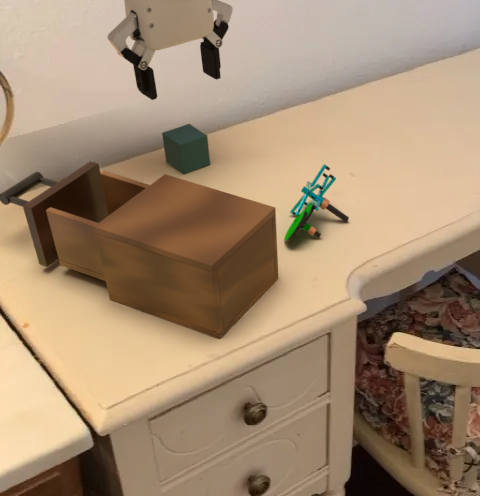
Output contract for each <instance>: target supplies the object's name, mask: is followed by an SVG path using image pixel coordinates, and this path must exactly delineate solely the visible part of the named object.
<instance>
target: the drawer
mask: <svg viewBox="0 0 480 496" xmlns="http://www.w3.org/2000/svg"><path fill="white" fill-rule="evenodd" d="M40 185H43V186H47V187H49V188H47V189H46V190H44V191H43V192H41V193H39V194H38V195H36V196H35V197H33V198H32V199H31V200H26V199H23V198H20V197H22V196H24V195H25V194H27V193H28V192H30V191H32V190H33V189H35V188H36V187H38V186H40ZM149 185H150V184H149V183H145V182H142V181H139V180H136V179H132V178H129V177H126V176H124V175H120V174H117V173H113V172H110V171H106V170H103V171H102V172H101V168H100V164H99V163H98V162H95V161H88V162H87V163H86V164H83V165H82V166H81V167H79V168H78V169H76V170H75V171H73V172H72V173H70V174H69V175H67V176H66V177H64V178H63V179H61V180H59V181H56V180H53V179H50V178H47V177H44V176H43V174H42V173H41V172H39V171H34V172H33V173H31V174H30V175H27V176H26V177H24V178H23V179H21V180H20V181H18V182H17V183H15V184H13V185H12V186H10V187H9V188H7V189H6V190H4V191H2V192H1V193H0V202H1V204H3V205H5V206H8V205H10V204H13V205H15V206H19V207H22V209H23V212H24V215H25V220H26V223H27V226H28V229H29V233H30V236H31V240H32V244H33V247H34V250H35V254H36V258H37V261H38V264H39V265H40V266H42V267H45V268H49V267H50V266H51V265H53V264H54V263H55V262H57V261H58V262H59V265H60V266H62V267H64V268H67V269H70V270H72V271H75V272H78V273H81V274H84V275H87V276H89V277H92V278H95V279H97V280H101V281H103V282H106V279H105V275H104V270H103V266H102V261H101V257H100V253H99V248H98V244H97V239H96V235H95V230H94V226H95V225H97V224H98V223H99V222H101V221H102V220H103V219H105V218H106V217H107V216H109V215H110V214H112V213H113V212H114V211H116V210H117V209H118V208H120V207H121V206H122V205H124V204H125V203H126V202H128V201H129V200H130V199H132V198H133V197H135V196H136V195H137V194H139V193H140V192H141V191H143V190H144V189H145V188H147V187H148V186H149Z"/></svg>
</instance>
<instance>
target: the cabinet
mask: <svg viewBox="0 0 480 496" xmlns="http://www.w3.org/2000/svg"><path fill="white" fill-rule="evenodd" d="M276 214H277V210H276V207H275V206H273V205H268V204H265V203H262V202H259V201H256V200H252V199H249V198H245V197H243V196H238V195H237V194H236V195H235V194H232V193H229V192H226V191H222V190H219V189H217V188H213V187H210V186H206V185H202V184H199V183H197V182H193V181H189V180H186V179H183V178H179V177H177V176H173V175H169V174H167V173H165V174H163V175H162V176H160V177H159V178H158V179H156V180H155V181H153V182H152V183H151V184H149V186H148V187H147V188H145V189H144V190H143V191H141V192H140V193H139V194H137V195H136V196H135V197H133V198H132V199H130V200H129V201H128V202H126V203H125V204H124V205H122V206H121V207H120V208H118V209H117V210H116V211H114V212H113V213H112V214H110V215H109V216H107V217H106V218H105V219H103V220H102V221H101V222H99V223H98V224H97V225H95V226H94V230H95V235H96V239H97V244H98V248H99V253H100V257H101V261H102V266H103V270H104V275H105V279H106V281H105V283H106V288H107V292H108V297H109V300H111V301H114V302H115V303H118V304H121V305H125V306H127V307H130V308H133V309H135V310H138V311H141V312H144V313H146V314H150V315H152V316H155V317H158V318H161V319H164V320H166V321H169V322H171V323H174V324H176V325H180V326H183V327H185V328H188V329H191V330H194V331H197V332H199V333H202V334H205V335H207V336H210V337H213V338H216V339H219V340H221V339H222V338H223V337H224V336H225V335H226V333H228V331H229V330H230V329H232V327H234V326H235V324H236V323H237V322H238V321H239V320H240V319H241V318H242V317H243V316H244V315H245V314H246V313H247V312H248V311H249V310H250V309H251V308H252V307H253V305H255V304H256V303H257V301H258V300H259V299H260V298H261V297H262V296H263V295H265V293H266V292H267V291H268V290H269V289H270V288H271V287H273V285H274V284H275V283H276V282H277V281H278V280H279V278H280V277H279V258H278V237H277V215H276Z"/></svg>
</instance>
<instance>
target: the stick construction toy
mask: <svg viewBox="0 0 480 496" xmlns="http://www.w3.org/2000/svg"><path fill="white" fill-rule="evenodd" d="M325 170H327V171H330V170H331V167H330V166H328V165H327V164H324V163H323V165H322V166H321V168H320V169H319V170H318V172H317V174H316V175H315V177H314V178H313V180H312V181H309V180H307V182H306V185H303V186H302V187H301V189H300V192H301V193H303V194H302V195H301V197H300V198H299V200H297V202H296V203H295V204H294V206H293V207H292V208H291V210H290V211H289V213H290V214H291V215H293V216H294V217H295V218H294V220H293V221H292V223H291V224H290V225H289V227H288V229H287V231H286V233H285V236H284V241H285V242H287V243H289V242H291V241H292V240H293V239H294V238H295V236H296V235H297V234H298V233H299V232H300V231H301V229H302V230H304V231H305V232H307V233H308V234H309V235H311V236H314V237H316V238H318V239H320V237H321V235H322V233H321V232H319V231H318V230H317V228H315V227H314V226H313V225H311V224H310V223H308V222H309V220H310V219H311V217H312V216H313V213H314V211H316V212H318V211H319V210H320V209H321V210H324V211H325V210H327V211H328V212H330V213H331V214H333V216H336V217H337V218H339V219H340V220H341V221H343V222H344V223H347V222H348V221H349V219H350V217H349V216H348V215H346V214H345V213H344V212H342V211H341V210H339V209H338V208H337V207H335V206H334V205H332V204H331V203H330V201H331V200H329V199H328V198H326V197H324V196H325V193H327V191H328V190H329V189H330V188H331V186H332V185H333V184H334V182H335V181H336V180H337V177H336V176H334V175H333V174H331V173H330V174H326V173H325ZM321 176H323V178H324V180H323V182H322V184H319V183H318V181H319V179H320V178H321ZM317 189H319V190H318V192H317V193H315V192H314V191H316V190H317ZM308 197H309V198H310V200H309V201H308V202H307V199H308ZM304 205H305V206H306V207H305V208H304V209H303V207H304ZM302 209H303V210H302ZM295 211H296V212H295Z"/></svg>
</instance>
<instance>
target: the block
mask: <svg viewBox="0 0 480 496" xmlns="http://www.w3.org/2000/svg"><path fill="white" fill-rule="evenodd" d="M161 135H162V136H161V137H162V142H163V143H162V144H163V149H164V156H165V157H164V158H165V162H166V163H167V164H168V165H170V166H171V167H173V168H174V169H175V170H177V171H179V173H181V174H182V175H187V174H189V173H191V172H194V171H197V170H200V169H202V168H205V167H208V166H210V165H211V160H210V150H209V149H210V148H209V137H208V135H207V134H205V133H204V132H202V131H201V130H199V129H198V128H197V127H195V126H193V125H192V124H191V123H187V124H185V125H181V126H178V127H175V128H172V129H170V130H169V129H168V130H166V131H163V132H162V133H161Z"/></svg>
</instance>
